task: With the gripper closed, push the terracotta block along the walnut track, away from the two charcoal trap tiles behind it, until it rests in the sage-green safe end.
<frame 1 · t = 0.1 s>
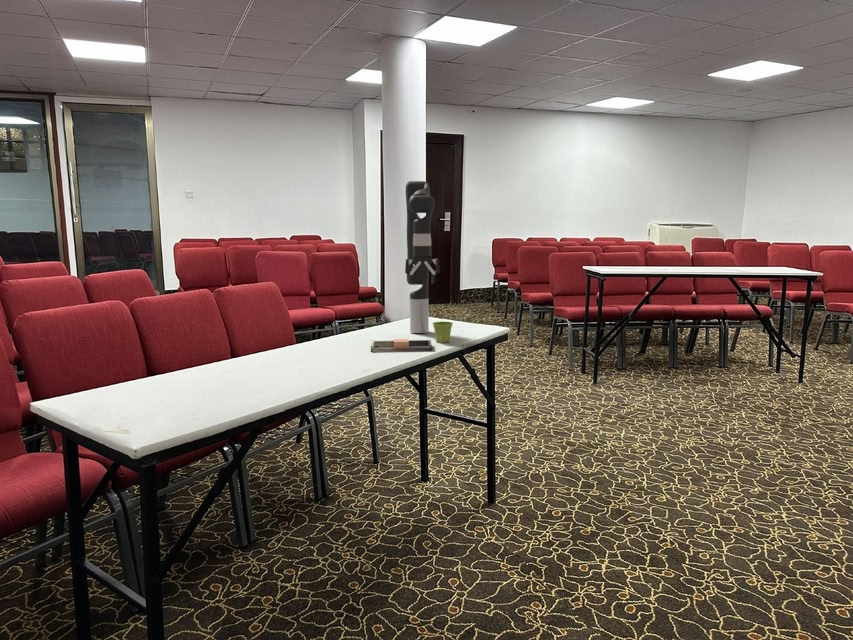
hand: (422, 283, 244), 29 cm above the table, tool pointing down, fingers open, 8 cm apart
plant pot: (442, 342, 269), on the table
trap track: (401, 348, 254), on the table
block: (401, 349, 254), resting in trap track
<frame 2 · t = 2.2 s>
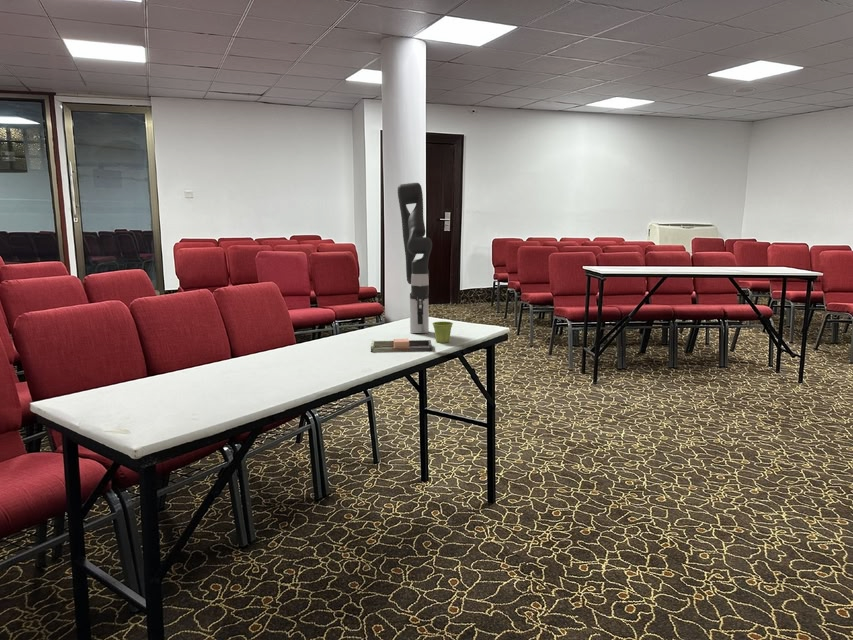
hand: (420, 324, 253), 11 cm above the table, tool pointing down, fingers closed
nothing on the table moved.
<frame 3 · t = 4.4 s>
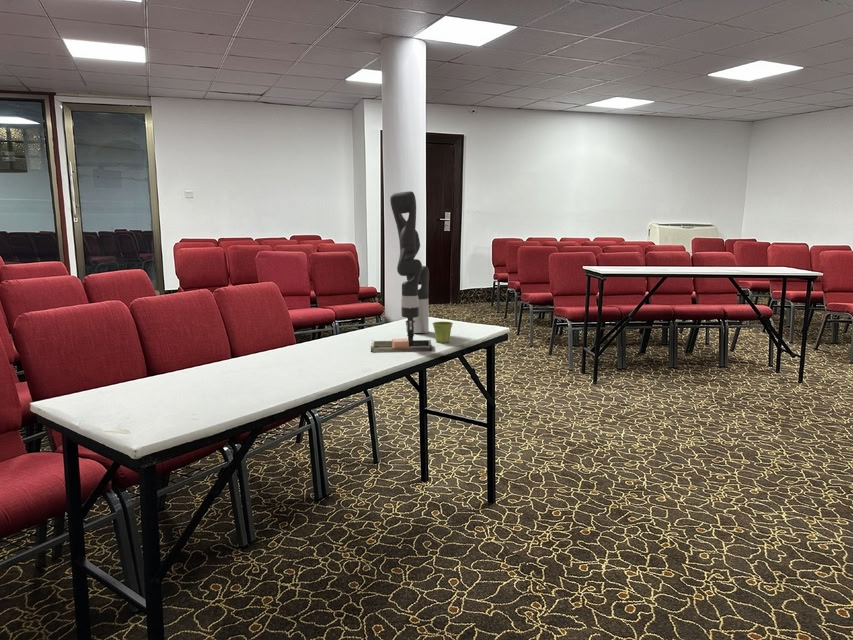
hand: (410, 345, 254), 2 cm above the table, tool pointing down, fingers closed
block: (400, 349, 254), resting in trap track, touching gripper
everything else where it was.
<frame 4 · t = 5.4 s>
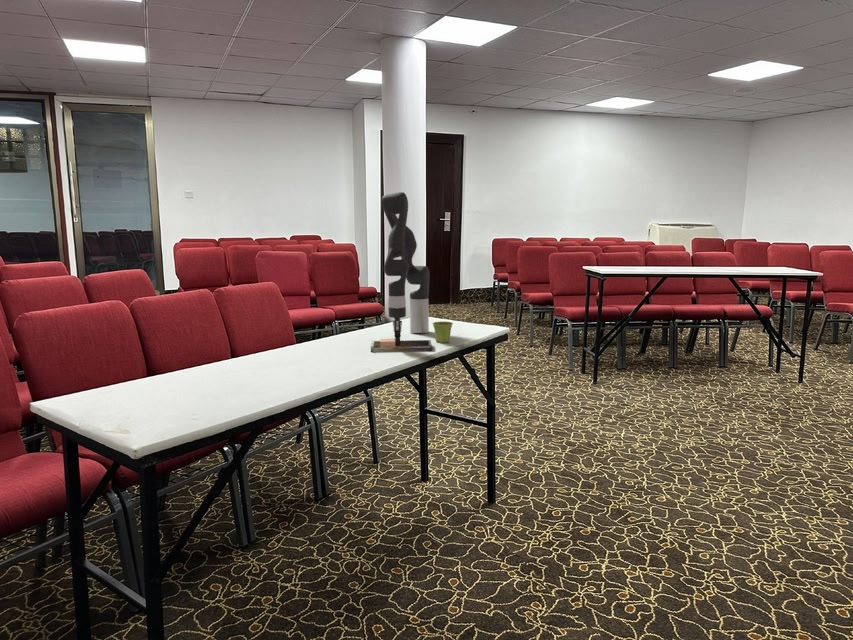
hand: (397, 345, 254), 2 cm above the table, tool pointing down, fingers closed
block: (387, 349, 254), resting in trap track, touching gripper
everything else where it was.
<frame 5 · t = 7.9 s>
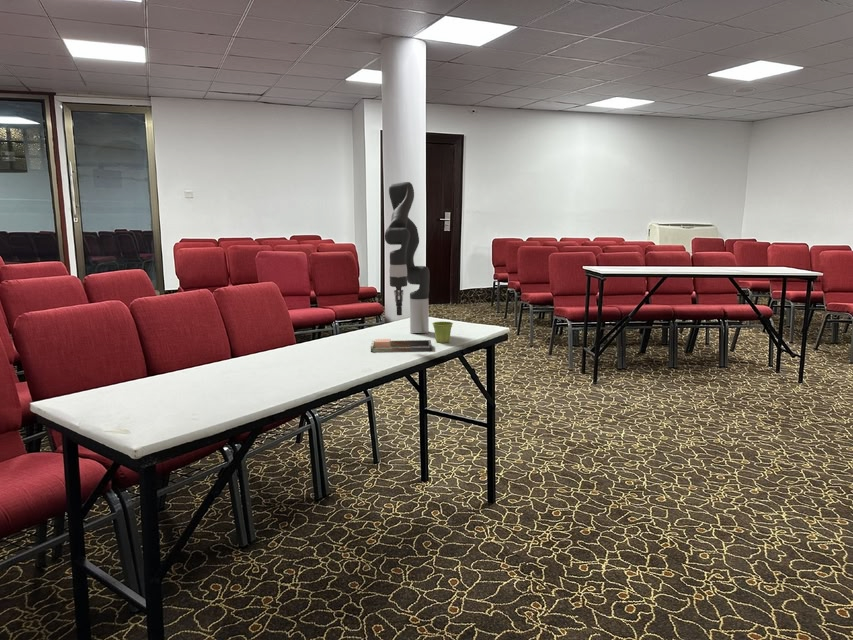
hand: (399, 315, 252), 15 cm above the table, tool pointing down, fingers closed
block: (382, 349, 254), resting in trap track
everything else where it was.
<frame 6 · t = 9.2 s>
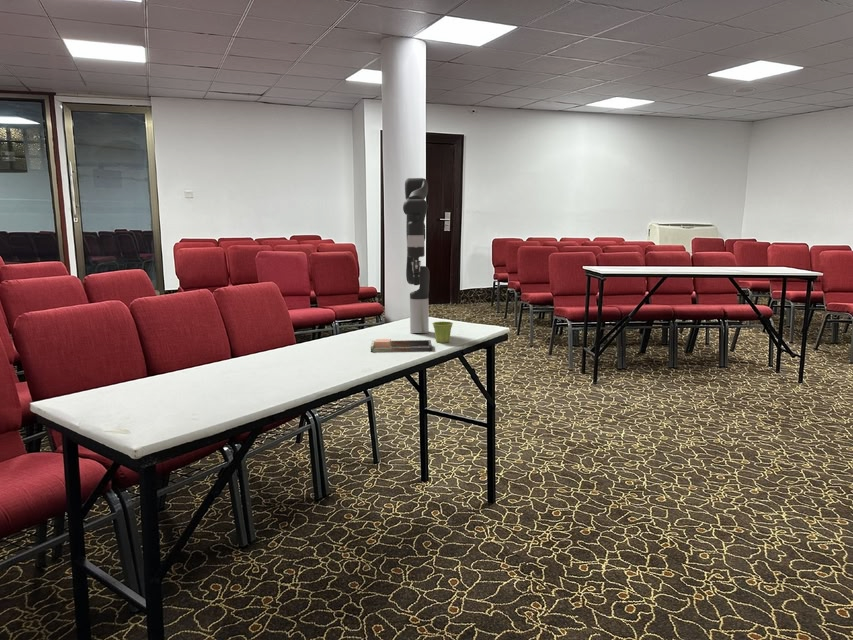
hand: (416, 285, 258), 27 cm above the table, tool pointing down, fingers closed
nothing on the table moved.
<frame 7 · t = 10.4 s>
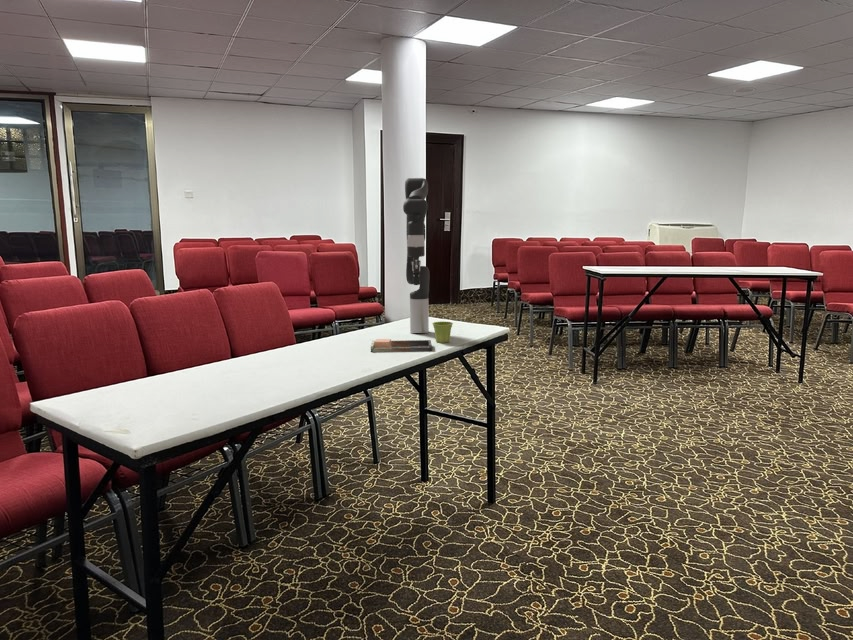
hand: (416, 284, 258), 27 cm above the table, tool pointing down, fingers closed
nothing on the table moved.
at the end: block inside the target area (0.4 cm from its centre), resting in trap track; block tilted 0° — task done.
